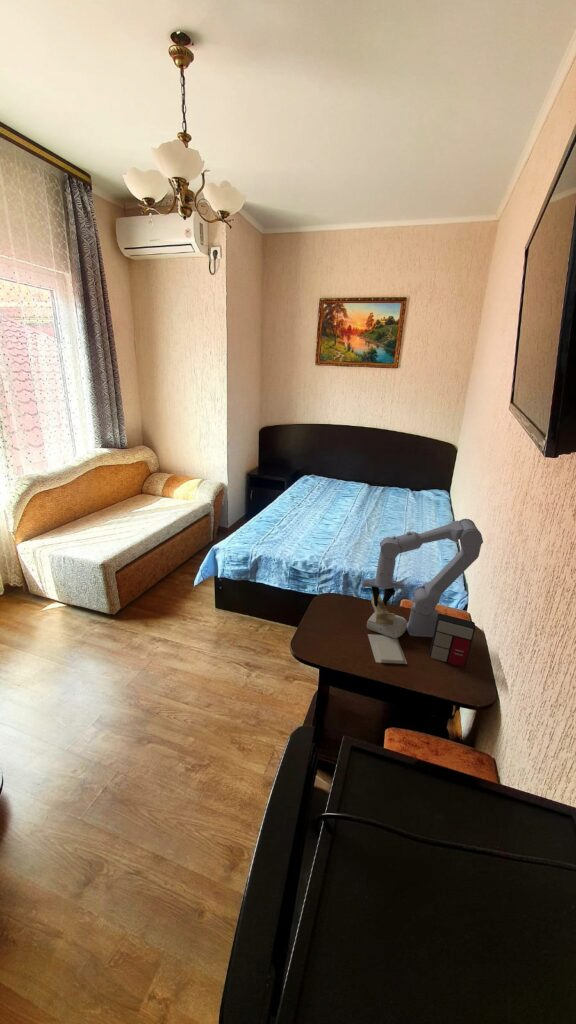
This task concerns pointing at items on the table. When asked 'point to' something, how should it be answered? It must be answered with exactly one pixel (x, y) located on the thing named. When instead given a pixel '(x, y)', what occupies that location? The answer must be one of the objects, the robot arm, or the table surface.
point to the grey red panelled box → (452, 639)
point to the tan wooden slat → (382, 612)
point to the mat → (382, 638)
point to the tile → (389, 652)
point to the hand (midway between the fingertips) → (379, 604)
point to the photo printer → (388, 626)
